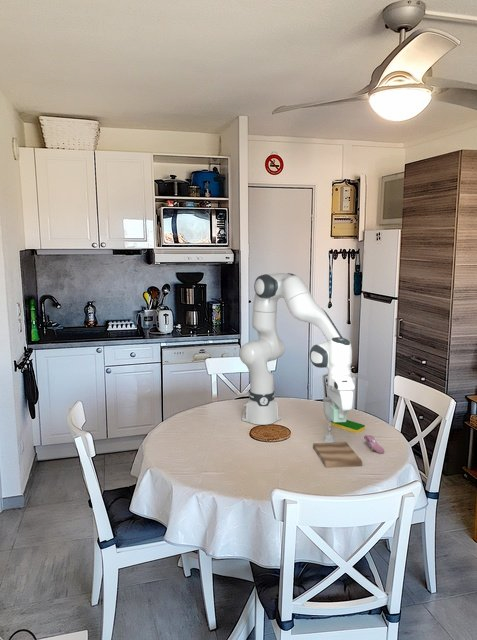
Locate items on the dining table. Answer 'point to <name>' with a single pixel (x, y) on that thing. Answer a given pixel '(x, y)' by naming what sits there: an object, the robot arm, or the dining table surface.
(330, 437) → the chalice
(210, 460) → the dining table surface
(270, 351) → the robot arm
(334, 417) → the sage cube
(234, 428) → the dining table surface
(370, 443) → the video game controller
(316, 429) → the dining table surface
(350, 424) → the dish sponge
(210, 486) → the dining table surface
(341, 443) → the walnut board
